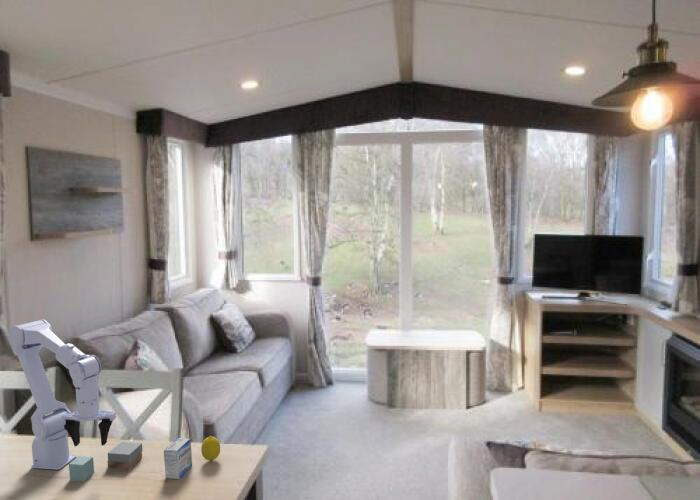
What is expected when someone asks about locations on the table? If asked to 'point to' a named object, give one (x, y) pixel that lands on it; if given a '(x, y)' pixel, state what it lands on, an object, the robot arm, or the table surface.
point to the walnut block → (124, 463)
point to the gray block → (125, 452)
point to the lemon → (210, 448)
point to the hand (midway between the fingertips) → (90, 444)
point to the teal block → (81, 468)
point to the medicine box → (178, 458)
